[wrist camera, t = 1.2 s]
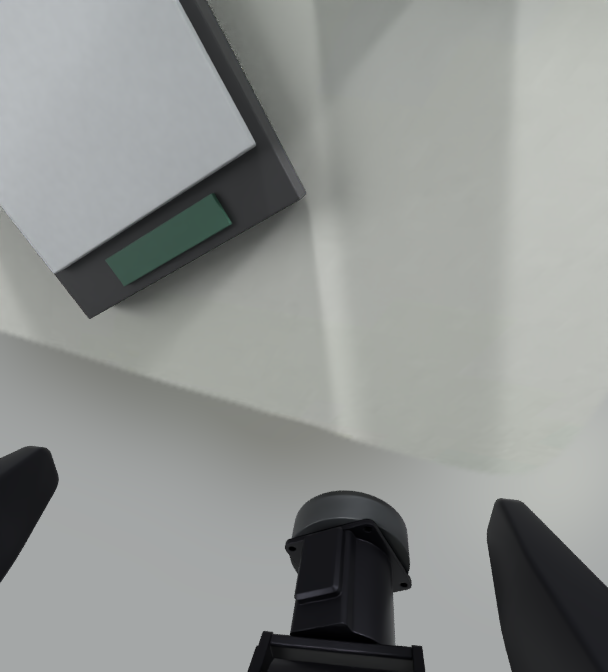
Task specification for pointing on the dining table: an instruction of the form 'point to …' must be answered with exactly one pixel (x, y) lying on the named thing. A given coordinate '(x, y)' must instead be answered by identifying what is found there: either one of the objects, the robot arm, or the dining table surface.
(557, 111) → the dining table surface
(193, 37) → the scale
